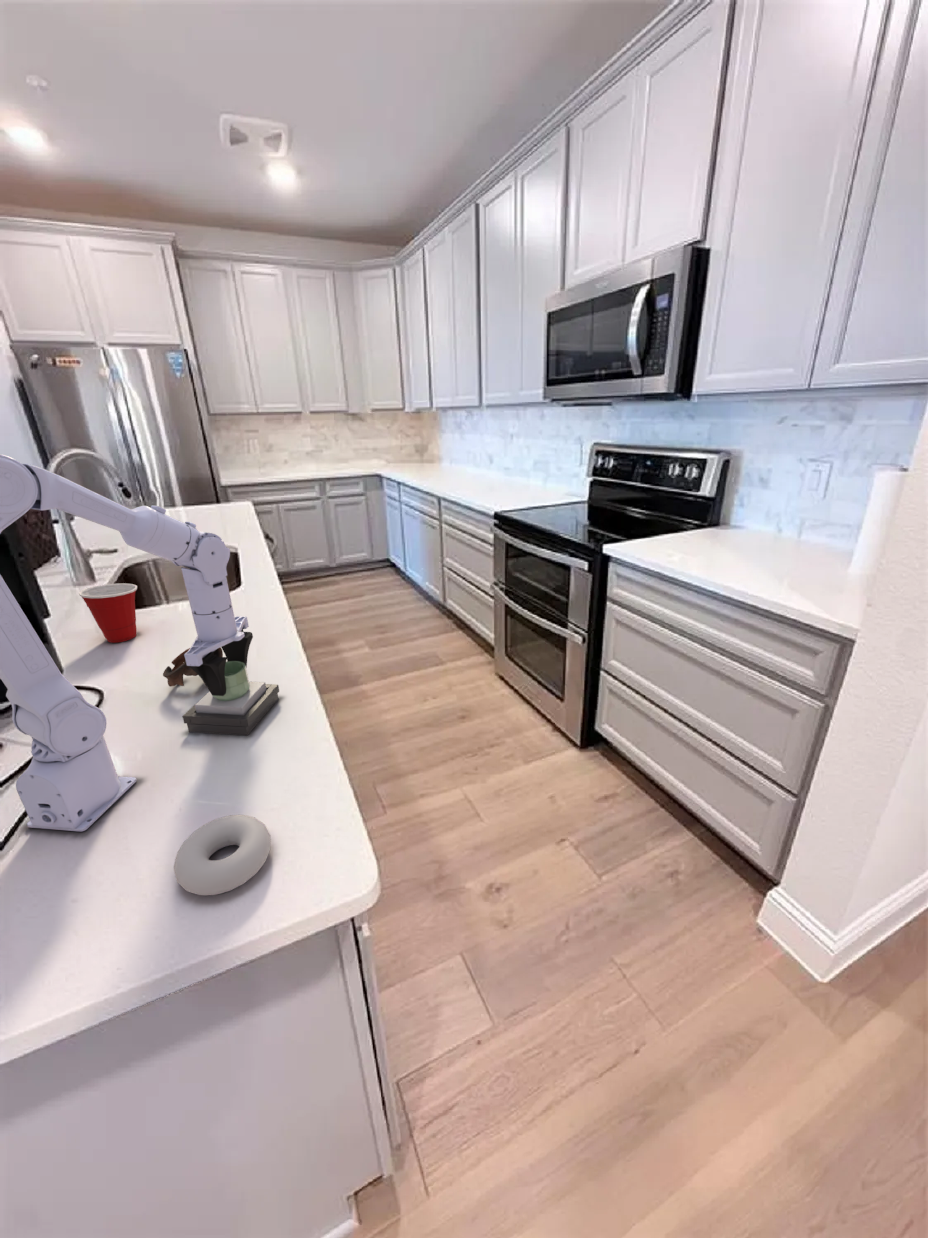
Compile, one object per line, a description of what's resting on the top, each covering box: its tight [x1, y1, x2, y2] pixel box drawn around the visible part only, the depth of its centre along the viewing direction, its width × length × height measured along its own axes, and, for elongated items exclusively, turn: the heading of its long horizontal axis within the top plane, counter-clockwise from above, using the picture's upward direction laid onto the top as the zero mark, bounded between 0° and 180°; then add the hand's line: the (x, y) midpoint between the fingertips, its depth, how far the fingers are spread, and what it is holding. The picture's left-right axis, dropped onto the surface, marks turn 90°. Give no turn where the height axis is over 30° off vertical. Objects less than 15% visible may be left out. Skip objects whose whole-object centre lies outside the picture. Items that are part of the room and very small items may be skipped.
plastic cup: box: [78, 583, 138, 644], centre depth 114 cm, size 11×11×12 cm
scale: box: [181, 683, 280, 736], centre depth 85 cm, size 11×11×3 cm
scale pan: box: [194, 681, 267, 715], centre depth 85 cm, size 8×8×2 cm
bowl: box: [212, 660, 250, 701], centre depth 83 cm, size 6×6×4 cm
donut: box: [173, 814, 271, 896], centre depth 57 cm, size 10×4×10 cm
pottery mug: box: [162, 647, 224, 687], centre depth 96 cm, size 12×10×8 cm
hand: (229, 684), depth 84 cm, fingers closed on bowl, 6 cm apart
